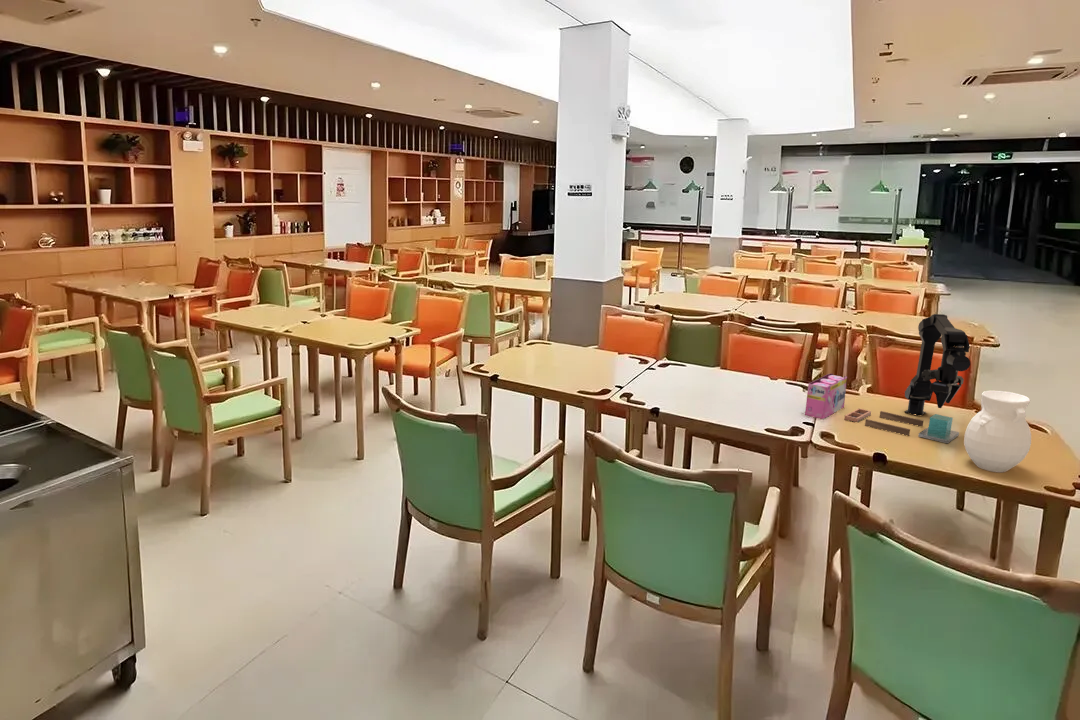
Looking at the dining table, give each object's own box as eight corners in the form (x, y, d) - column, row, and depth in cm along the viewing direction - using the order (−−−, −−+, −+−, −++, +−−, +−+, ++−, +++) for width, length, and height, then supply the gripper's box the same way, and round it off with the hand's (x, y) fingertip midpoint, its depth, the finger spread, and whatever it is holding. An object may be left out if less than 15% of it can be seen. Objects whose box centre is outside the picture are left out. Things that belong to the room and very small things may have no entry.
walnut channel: (880, 416, 285) (881, 411, 284) (922, 426, 274) (923, 420, 273) (864, 425, 274) (865, 419, 273) (908, 436, 263) (909, 429, 262)
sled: (929, 428, 270) (932, 410, 269) (958, 435, 263) (961, 417, 262) (918, 436, 262) (921, 418, 260) (947, 443, 255) (950, 424, 253)
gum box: (827, 402, 303) (830, 372, 300) (845, 406, 298) (849, 376, 294) (804, 415, 286) (807, 383, 283) (823, 419, 281) (827, 387, 277)
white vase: (1039, 477, 226) (1053, 403, 220) (985, 478, 225) (998, 404, 219) (998, 455, 244) (1010, 387, 238) (947, 456, 243) (959, 387, 237)
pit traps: (858, 412, 290) (858, 408, 289) (870, 415, 286) (871, 411, 286) (844, 419, 280) (844, 415, 280) (856, 422, 277) (857, 418, 276)
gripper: (934, 356, 268) (928, 396, 271) (917, 364, 255) (911, 405, 259) (966, 362, 260) (960, 402, 264) (951, 370, 247) (944, 412, 251)
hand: (943, 405), depth 259 cm, fingers open, 9 cm apart
